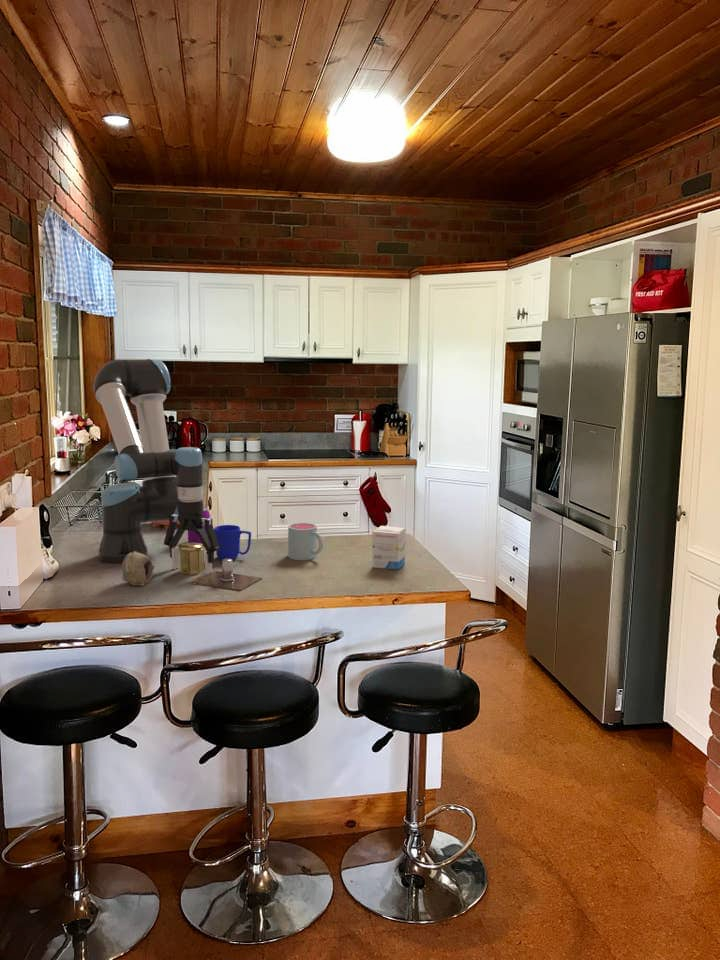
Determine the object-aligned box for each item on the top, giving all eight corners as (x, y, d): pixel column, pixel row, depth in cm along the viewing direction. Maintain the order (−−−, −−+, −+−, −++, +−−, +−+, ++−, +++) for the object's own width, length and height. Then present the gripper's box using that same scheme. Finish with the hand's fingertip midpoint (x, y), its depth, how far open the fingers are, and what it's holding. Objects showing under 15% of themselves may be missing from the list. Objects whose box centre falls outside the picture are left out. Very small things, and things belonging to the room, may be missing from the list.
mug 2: (282, 556, 250) (282, 526, 248) (303, 550, 256) (303, 521, 254) (311, 564, 240) (311, 533, 239) (332, 558, 247) (332, 528, 245)
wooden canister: (173, 573, 229) (172, 547, 228) (191, 565, 238) (190, 540, 236) (192, 576, 227) (192, 550, 225) (209, 568, 235) (209, 543, 234)
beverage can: (209, 539, 270) (208, 505, 268) (212, 544, 263) (211, 510, 260) (186, 540, 267) (185, 506, 265) (189, 546, 260) (188, 511, 258)
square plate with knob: (192, 583, 220) (191, 562, 219) (215, 572, 231) (215, 551, 230) (240, 590, 214) (240, 568, 213) (261, 579, 225) (261, 557, 224)
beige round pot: (128, 595, 217) (116, 566, 212) (124, 582, 224) (113, 553, 220) (160, 582, 219) (149, 553, 215) (156, 569, 227) (144, 541, 222)
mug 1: (246, 563, 241) (246, 532, 239) (210, 560, 243) (209, 530, 242) (255, 556, 249) (255, 526, 247) (220, 553, 251) (219, 524, 250)
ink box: (405, 563, 244) (406, 527, 241) (398, 570, 236) (398, 533, 234) (379, 560, 246) (380, 524, 244) (371, 567, 238) (372, 530, 236)
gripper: (149, 498, 229) (152, 569, 233) (216, 505, 220) (218, 578, 224) (165, 494, 236) (167, 562, 240) (230, 500, 227) (232, 572, 231)
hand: (192, 570), depth 232 cm, fingers open, 11 cm apart
